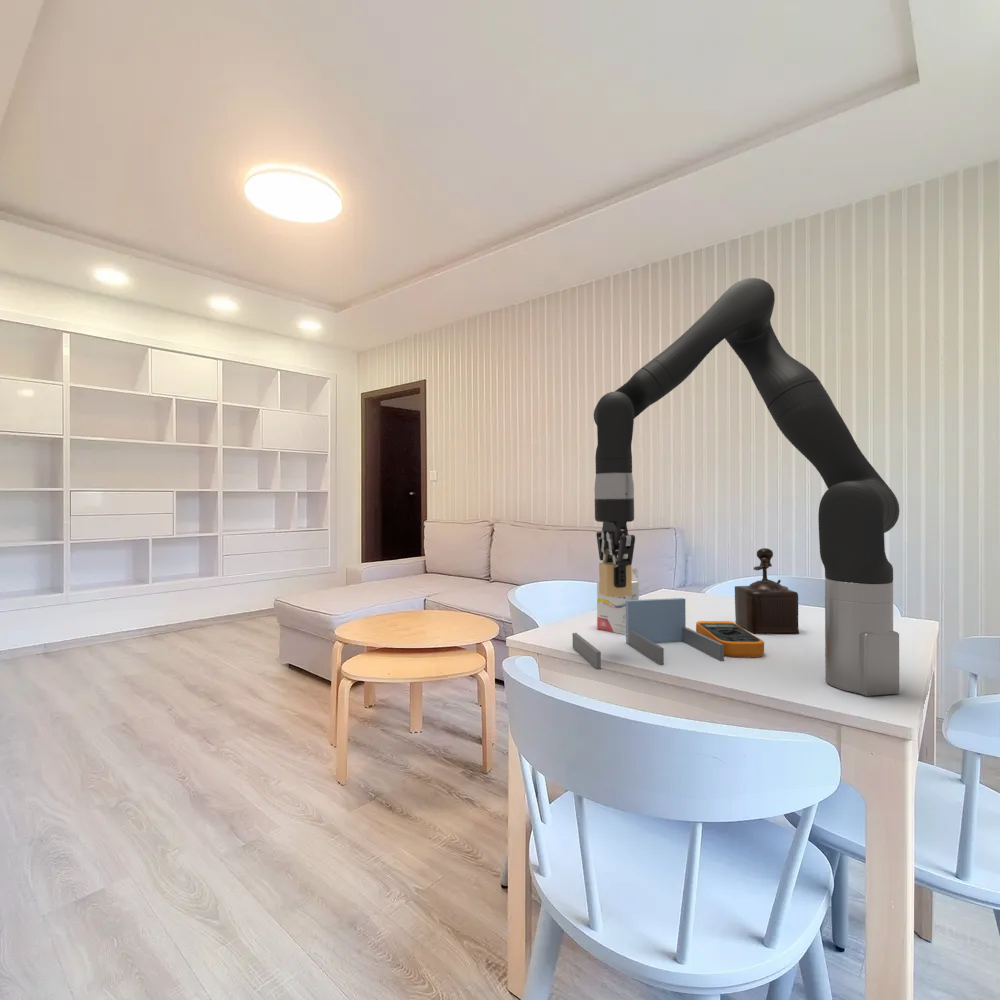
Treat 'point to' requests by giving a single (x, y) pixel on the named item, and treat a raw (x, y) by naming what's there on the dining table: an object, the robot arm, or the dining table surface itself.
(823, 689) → the dining table surface
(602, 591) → the tan wooden cube
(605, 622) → the ink cartridge box
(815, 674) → the dining table surface
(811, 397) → the robot arm
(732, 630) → the multimeter
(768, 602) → the manual coffee grinder
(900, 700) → the dining table surface
